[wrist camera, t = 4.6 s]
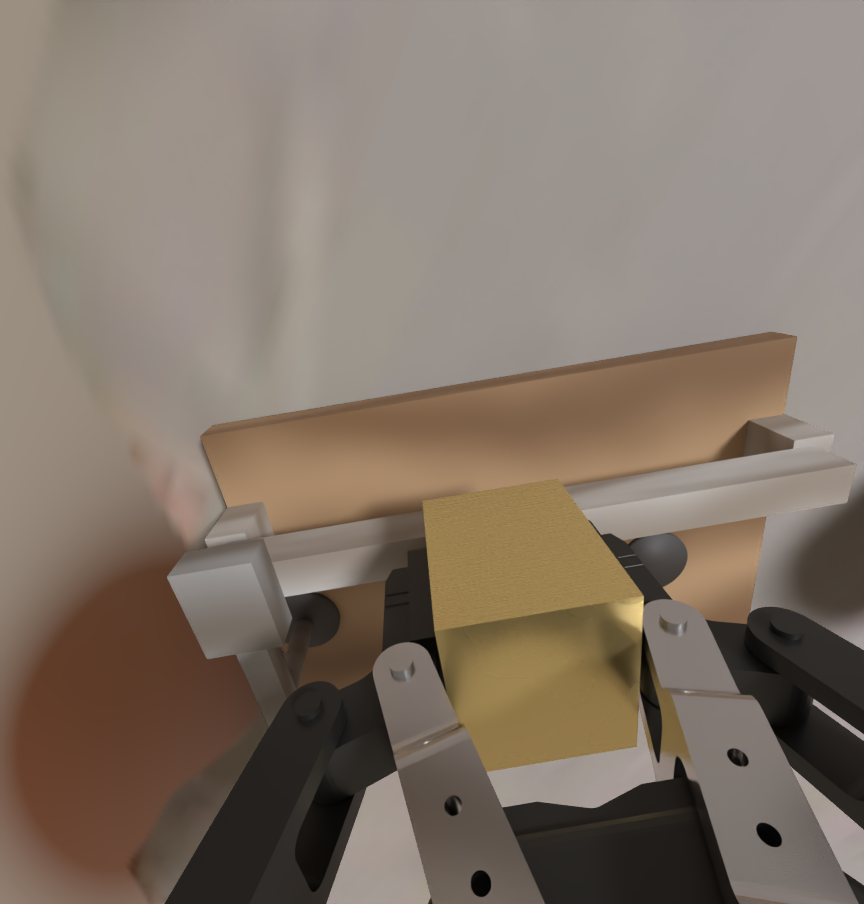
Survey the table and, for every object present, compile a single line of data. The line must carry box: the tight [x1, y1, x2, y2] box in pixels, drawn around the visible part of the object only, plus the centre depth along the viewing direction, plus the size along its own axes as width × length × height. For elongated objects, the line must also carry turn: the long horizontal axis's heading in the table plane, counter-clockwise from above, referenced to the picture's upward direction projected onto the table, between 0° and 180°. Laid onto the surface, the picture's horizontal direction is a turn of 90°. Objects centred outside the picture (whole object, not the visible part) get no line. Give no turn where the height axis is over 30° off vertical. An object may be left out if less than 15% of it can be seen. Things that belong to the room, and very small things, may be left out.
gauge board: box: [167, 332, 857, 728], centre depth 17 cm, size 14×22×6 cm, turn 99°
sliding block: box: [422, 478, 644, 772], centre depth 14 cm, size 8×4×9 cm, turn 9°
